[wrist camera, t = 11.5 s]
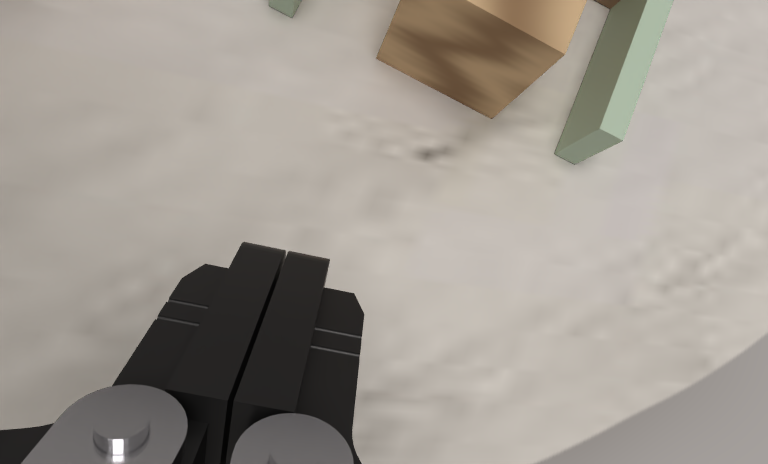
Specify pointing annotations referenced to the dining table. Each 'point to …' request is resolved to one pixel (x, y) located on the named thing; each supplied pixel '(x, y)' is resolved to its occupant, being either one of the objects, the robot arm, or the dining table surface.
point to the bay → (602, 75)
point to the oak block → (479, 45)
